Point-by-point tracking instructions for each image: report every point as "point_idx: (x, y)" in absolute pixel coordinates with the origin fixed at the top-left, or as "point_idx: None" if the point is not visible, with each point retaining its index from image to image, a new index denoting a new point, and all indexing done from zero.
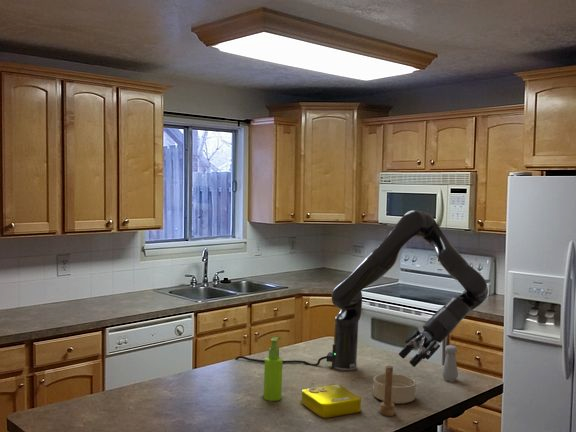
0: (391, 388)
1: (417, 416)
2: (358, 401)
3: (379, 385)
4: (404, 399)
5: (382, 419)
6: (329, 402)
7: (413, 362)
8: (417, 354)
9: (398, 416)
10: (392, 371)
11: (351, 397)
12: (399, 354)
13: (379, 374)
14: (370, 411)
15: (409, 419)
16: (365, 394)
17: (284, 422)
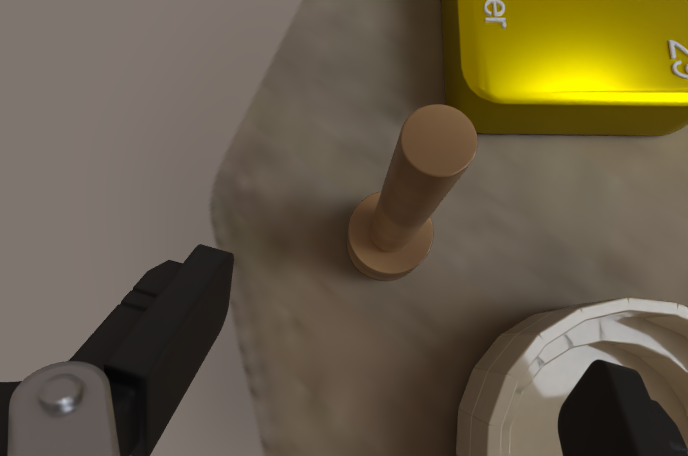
0: (382, 215)
1: (281, 379)
2: (459, 74)
3: (606, 301)
4: (462, 426)
5: (326, 170)
6: None
7: (156, 269)
8: (115, 358)
9: (325, 274)
10: (401, 175)
11: (502, 47)
12: (603, 360)
13: None
14: None
15: (266, 305)
16: (678, 301)
17: None
